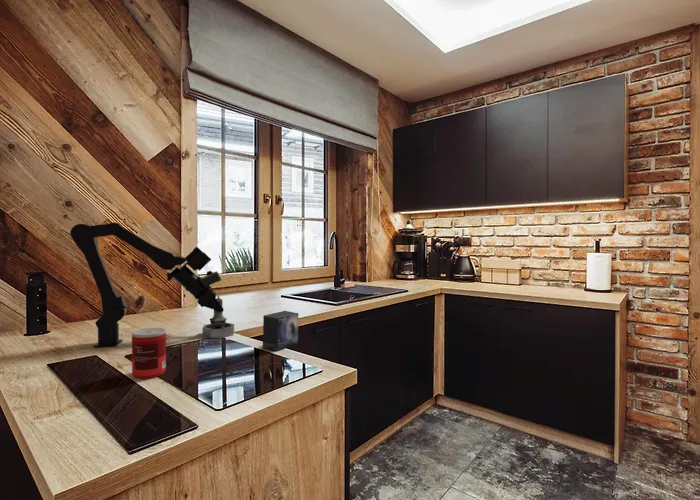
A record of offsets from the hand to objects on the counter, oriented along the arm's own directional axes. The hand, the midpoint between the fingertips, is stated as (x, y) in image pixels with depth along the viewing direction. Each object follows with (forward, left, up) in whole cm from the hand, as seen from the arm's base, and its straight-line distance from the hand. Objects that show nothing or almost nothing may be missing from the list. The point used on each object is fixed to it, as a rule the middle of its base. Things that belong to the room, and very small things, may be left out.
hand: (222, 310), depth 137 cm
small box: (-19, -20, -9) cm, 29 cm away
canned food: (-38, +14, -9) cm, 42 cm away
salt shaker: (0, +1, -7) cm, 7 cm away
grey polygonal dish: (0, +1, -9) cm, 9 cm away
